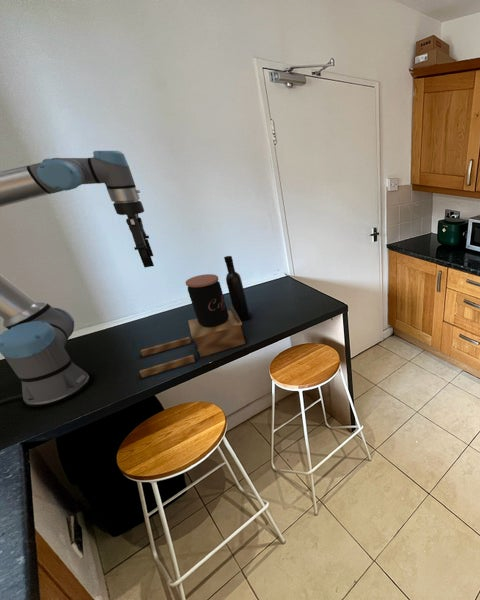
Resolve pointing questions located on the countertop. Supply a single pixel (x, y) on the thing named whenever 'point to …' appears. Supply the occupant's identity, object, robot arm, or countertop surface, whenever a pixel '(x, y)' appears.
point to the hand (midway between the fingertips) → (149, 261)
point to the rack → (200, 342)
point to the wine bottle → (236, 290)
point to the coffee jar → (207, 300)
